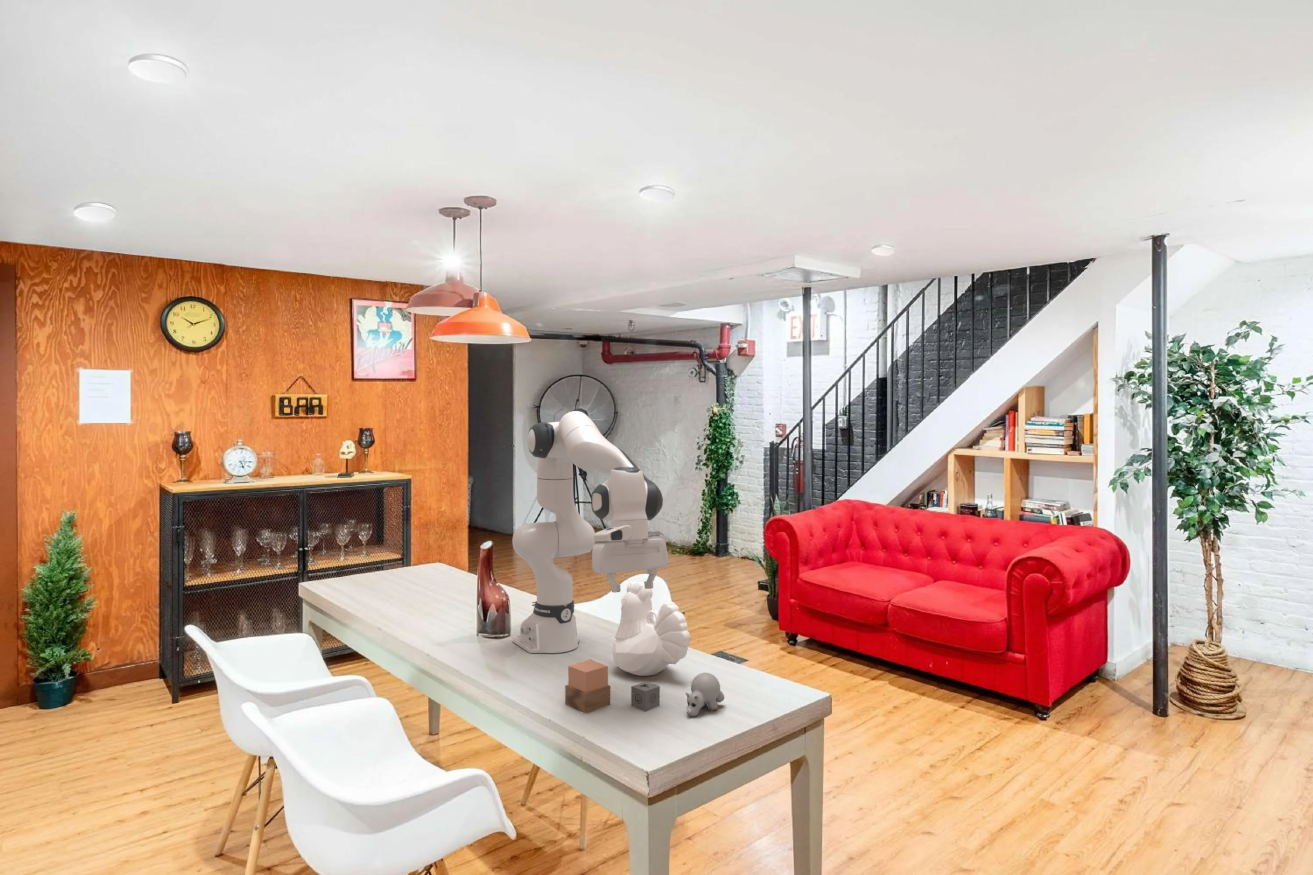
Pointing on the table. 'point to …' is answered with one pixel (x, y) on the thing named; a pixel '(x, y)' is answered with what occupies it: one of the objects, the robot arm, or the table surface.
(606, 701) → the walnut base block
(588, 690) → the terracotta top block
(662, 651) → the decorative rooster
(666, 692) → the table surface
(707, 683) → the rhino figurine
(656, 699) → the dice cube
